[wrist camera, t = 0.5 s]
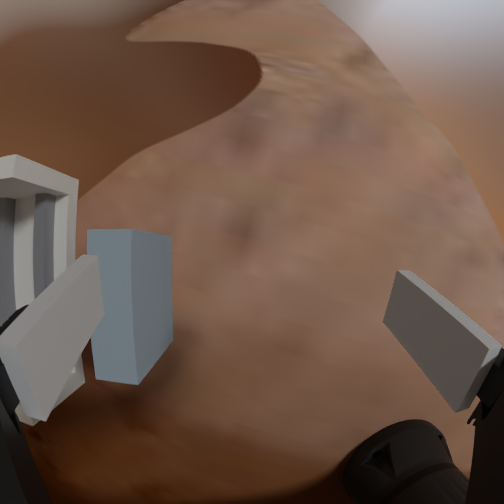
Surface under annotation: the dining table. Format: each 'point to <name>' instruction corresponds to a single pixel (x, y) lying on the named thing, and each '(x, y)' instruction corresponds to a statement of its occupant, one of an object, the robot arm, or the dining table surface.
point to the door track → (65, 231)
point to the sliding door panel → (132, 302)
